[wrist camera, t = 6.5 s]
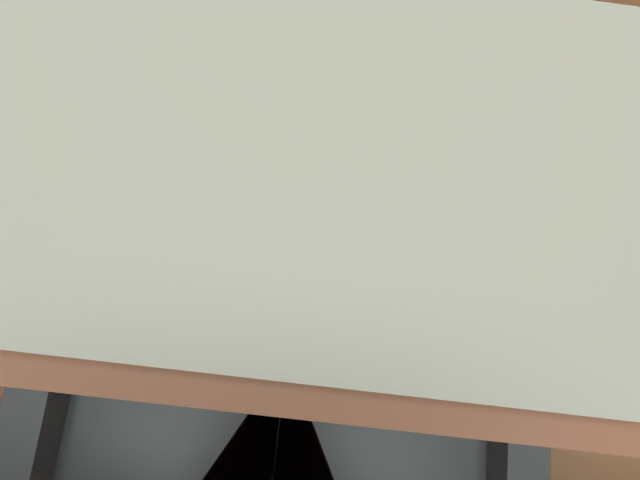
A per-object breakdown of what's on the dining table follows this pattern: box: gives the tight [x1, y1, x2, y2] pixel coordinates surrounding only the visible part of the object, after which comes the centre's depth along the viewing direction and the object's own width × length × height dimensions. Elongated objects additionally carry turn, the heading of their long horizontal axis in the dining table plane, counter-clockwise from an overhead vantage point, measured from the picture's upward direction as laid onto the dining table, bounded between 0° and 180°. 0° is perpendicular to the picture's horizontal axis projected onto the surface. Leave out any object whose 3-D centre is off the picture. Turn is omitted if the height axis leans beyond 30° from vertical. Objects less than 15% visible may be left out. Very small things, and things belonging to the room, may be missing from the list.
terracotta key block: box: [0, 0, 640, 458], centre depth 11 cm, size 6×10×9 cm, turn 84°
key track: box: [0, 387, 550, 480], centre depth 15 cm, size 16×13×2 cm
